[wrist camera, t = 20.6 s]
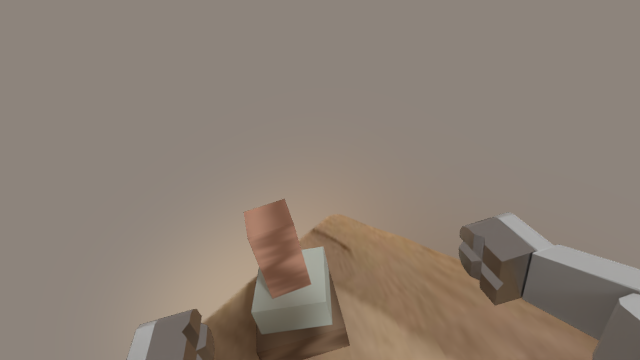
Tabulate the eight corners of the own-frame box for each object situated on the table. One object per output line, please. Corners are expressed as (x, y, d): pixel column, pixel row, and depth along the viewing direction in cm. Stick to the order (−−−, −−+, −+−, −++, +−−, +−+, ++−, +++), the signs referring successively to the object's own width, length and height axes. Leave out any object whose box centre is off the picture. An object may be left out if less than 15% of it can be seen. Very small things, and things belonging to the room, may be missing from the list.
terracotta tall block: (272, 298, 38) (247, 238, 33) (266, 269, 43) (243, 212, 37) (311, 284, 39) (293, 223, 34) (301, 257, 43) (284, 198, 38)
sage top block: (261, 334, 40) (251, 312, 37) (269, 277, 47) (260, 256, 45) (332, 324, 39) (326, 301, 37) (328, 268, 47) (323, 246, 44)
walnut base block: (267, 372, 40) (256, 352, 38) (264, 301, 50) (255, 282, 47) (350, 347, 41) (345, 327, 38) (331, 281, 50) (327, 262, 48)
